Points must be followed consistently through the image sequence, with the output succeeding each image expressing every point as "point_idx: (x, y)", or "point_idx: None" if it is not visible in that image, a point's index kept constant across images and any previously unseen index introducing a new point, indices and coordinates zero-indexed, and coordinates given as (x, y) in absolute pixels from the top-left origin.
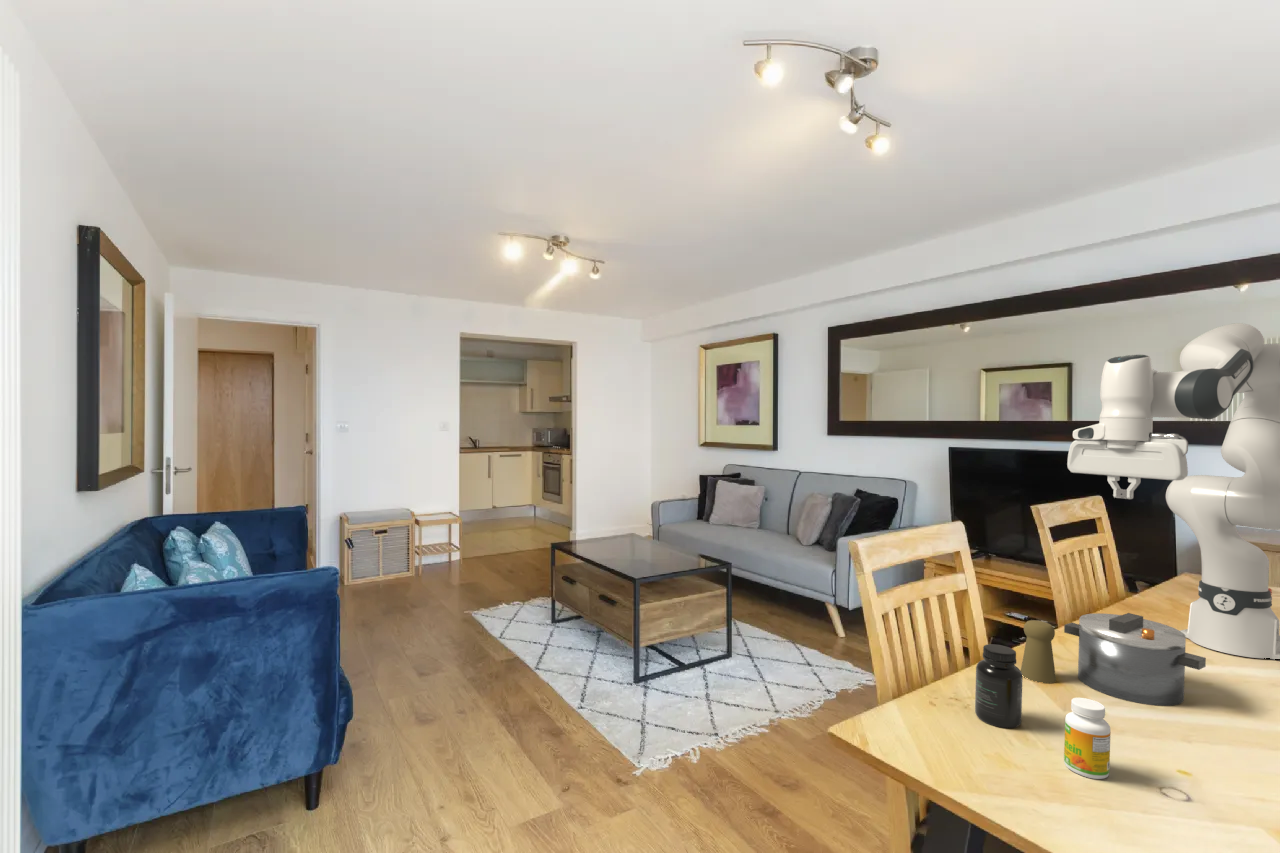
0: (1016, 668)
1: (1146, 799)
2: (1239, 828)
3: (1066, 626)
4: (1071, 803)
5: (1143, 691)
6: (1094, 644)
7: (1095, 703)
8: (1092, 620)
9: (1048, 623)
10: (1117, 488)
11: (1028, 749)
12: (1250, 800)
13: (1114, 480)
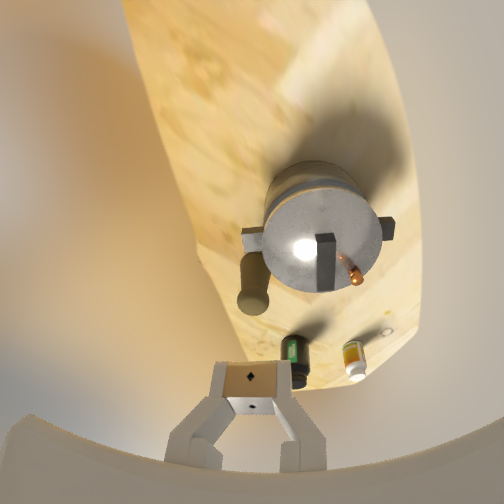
0: (306, 372)
1: (378, 344)
2: (409, 332)
3: (247, 250)
4: None
5: None
6: None
7: (360, 375)
8: (284, 265)
9: (257, 300)
10: (231, 415)
11: (324, 352)
12: (413, 310)
13: (220, 455)
